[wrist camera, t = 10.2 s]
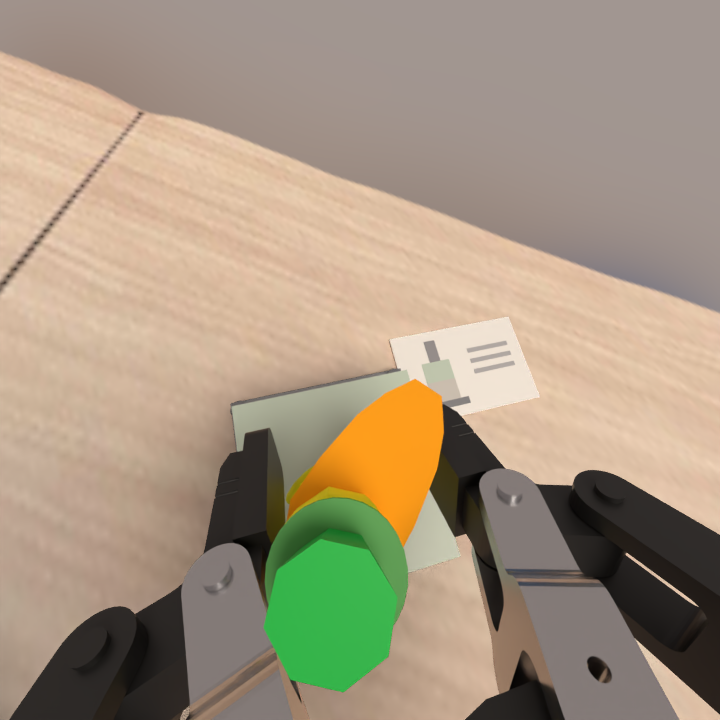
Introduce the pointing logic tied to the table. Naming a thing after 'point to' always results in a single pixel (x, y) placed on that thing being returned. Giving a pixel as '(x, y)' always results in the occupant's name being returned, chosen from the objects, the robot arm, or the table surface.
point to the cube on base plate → (321, 428)
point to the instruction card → (468, 365)
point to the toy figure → (352, 540)
